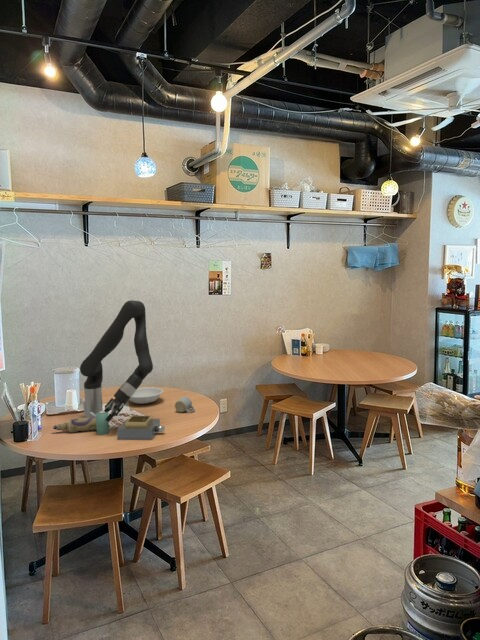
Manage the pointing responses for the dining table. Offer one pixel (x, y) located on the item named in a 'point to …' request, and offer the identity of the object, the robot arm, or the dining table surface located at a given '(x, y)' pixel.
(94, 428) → the decorative bottle
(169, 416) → the dining table surface
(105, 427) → the oil can
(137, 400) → the soup bowl
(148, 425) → the grey metal block
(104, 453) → the dining table surface
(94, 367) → the robot arm
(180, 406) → the ceramic mug
